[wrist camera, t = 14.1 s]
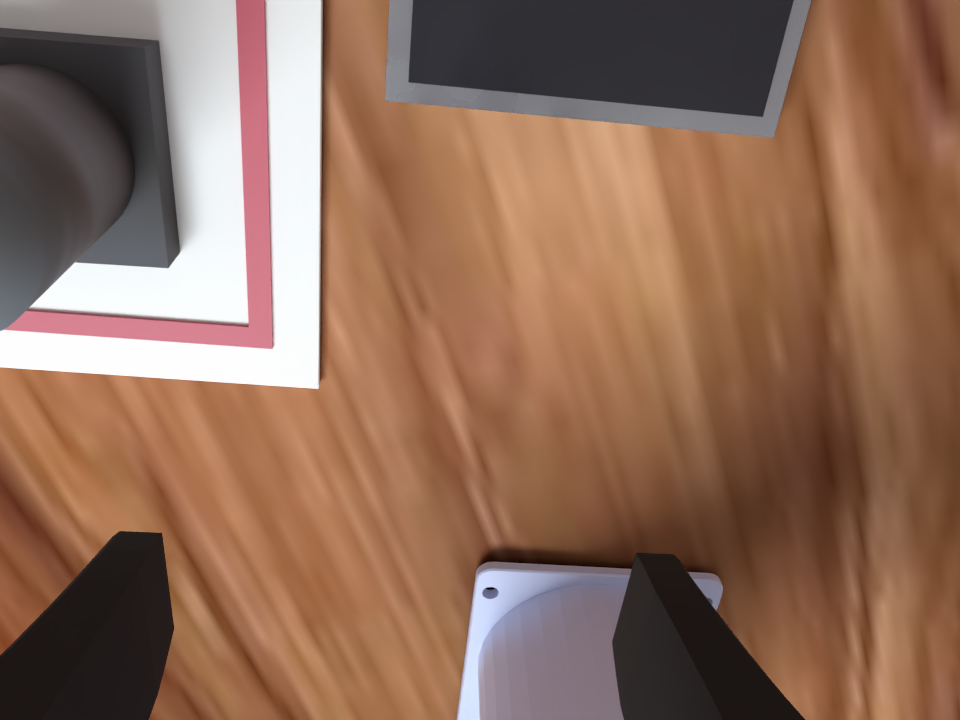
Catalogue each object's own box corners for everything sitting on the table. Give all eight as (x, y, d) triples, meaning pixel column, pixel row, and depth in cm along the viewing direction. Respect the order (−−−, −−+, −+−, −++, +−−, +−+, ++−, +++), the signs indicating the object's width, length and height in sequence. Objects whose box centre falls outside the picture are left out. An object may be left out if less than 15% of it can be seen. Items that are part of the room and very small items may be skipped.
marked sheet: (319, 383, 23) (317, 390, 23) (-136, 352, 22) (-145, 359, 22) (323, -112, 17) (320, -112, 17) (-296, -184, 16) (-311, -186, 16)
